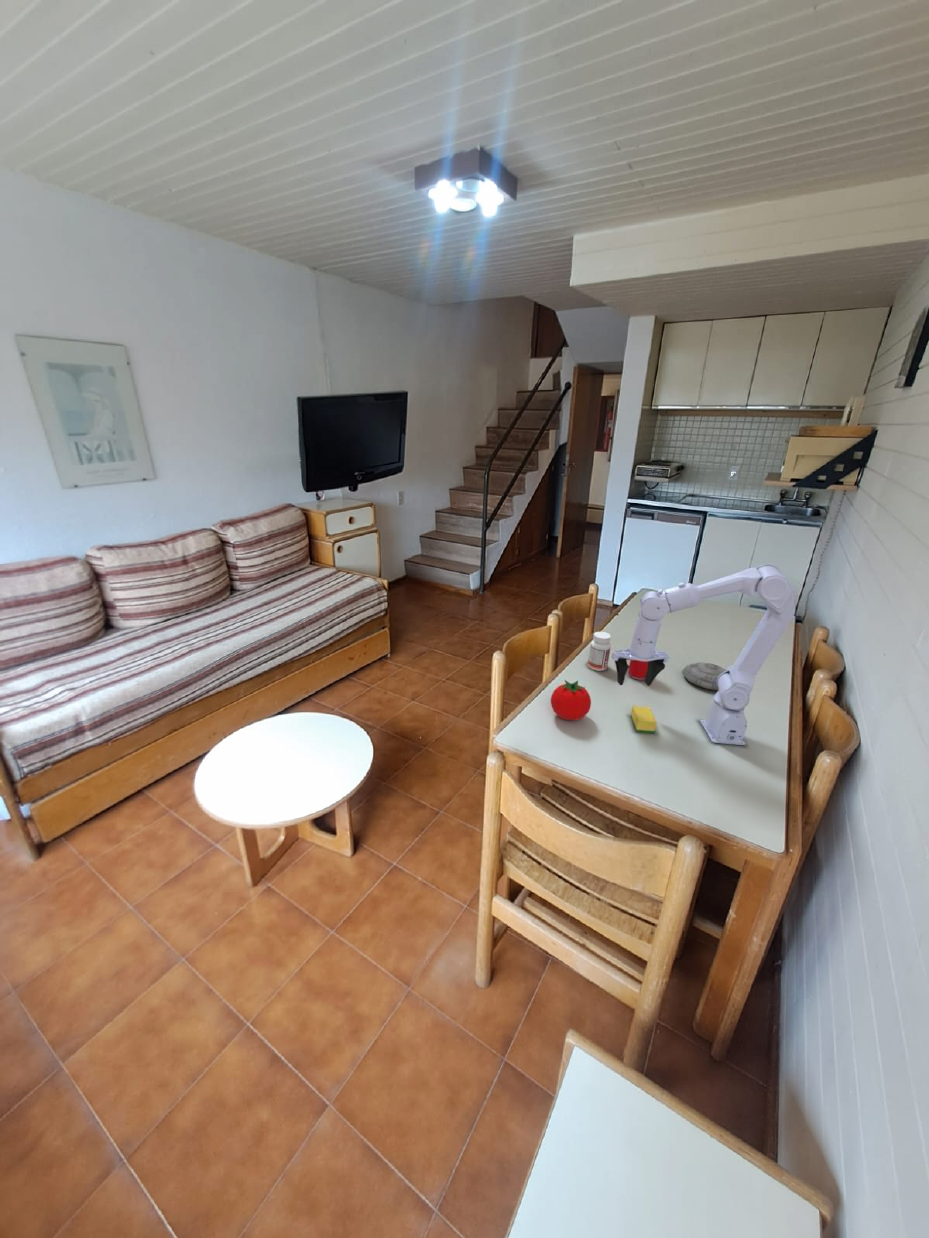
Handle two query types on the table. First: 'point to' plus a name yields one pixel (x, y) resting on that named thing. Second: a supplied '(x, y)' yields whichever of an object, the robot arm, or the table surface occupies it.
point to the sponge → (643, 719)
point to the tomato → (571, 701)
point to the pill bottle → (599, 651)
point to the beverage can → (638, 669)
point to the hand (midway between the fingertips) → (633, 683)
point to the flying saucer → (703, 674)
